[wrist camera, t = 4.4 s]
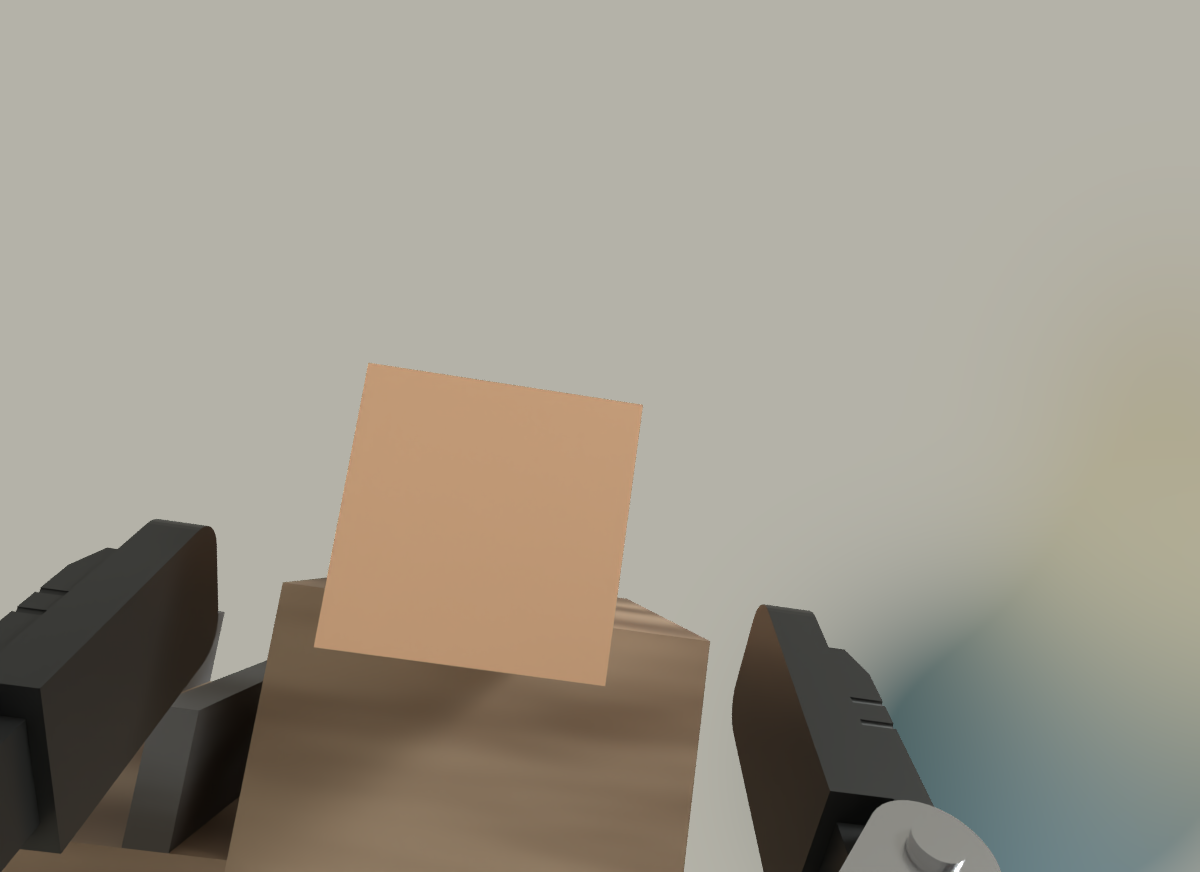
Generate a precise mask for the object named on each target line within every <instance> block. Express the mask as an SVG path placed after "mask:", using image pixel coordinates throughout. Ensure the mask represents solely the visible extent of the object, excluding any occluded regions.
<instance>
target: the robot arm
mask: <svg viewBox="0 0 1200 872" xmlns="http://www.w3.org/2000/svg"><path fill="white" fill-rule="evenodd" d="M217 626H218V583H217V544H216V536H215V533H214V530H213V529H212V528H211V527H209V526H204V525H196V524H189V523H182V522H175V521H168V520H161V519H155V520H152V521H150V522H149V523H147V524H146V525H145V526H144V527H143V528H141V529H140V530H139V531H138V532H137V533H136V534H135V535H133V536H132V537H131V538H130V539H129V540H128V541H126V542H125V543H124V544H123V545H122V546H121V547H120V548H118V549H112V548H105V549H103V550H101V551H99V552H96V553H94V554H92V555H90V556H87V557H85V558H83V559H81V560H79V561H76V562H74V563H71V564H69V565H68V566H66V567H65V568H64V569H63V570H62V571H60V572H59V573H58V574H57V575H55V576H54V577H53V578H52V579H51V580H50V581H48V582H47V583H46V584H44V585H43V586H42V587H41V589H40V592H39V593H38V592H34V593H33V594H32V595H31V596H30V597H28V598H27V599H26V600H25V601H23V602H22V603H21V604H20V605H19V606H18V608H17V611H16V612H13V611H11V612H10V613H9V614H8V615H6V616H5V617H4V618H3V619H1V621H0V872H2V870H3V869H4V868H5V867H6V865H7V864H8V863H9V862H10V861H11V859H12V858H13V857H14V856H15V854H16V853H17V852H18V851H19V849H23V850H32V851H41V852H49V853H58V854H61V853H62V852H63V851H64V849H65V848H66V847H67V845H68V844H69V843H70V841H71V840H72V839H73V837H74V836H75V834H76V833H77V832H78V830H79V829H80V828H81V826H82V825H83V824H84V822H85V821H86V820H87V818H88V817H89V816H90V814H91V813H92V812H93V810H94V809H95V808H96V806H97V805H98V804H99V802H100V801H101V800H102V798H103V797H104V796H105V794H106V793H107V792H108V790H109V789H110V788H111V786H112V785H113V784H114V782H115V781H116V780H117V778H118V777H119V776H120V774H121V773H122V772H123V770H124V769H125V767H126V766H127V765H128V763H129V762H130V761H131V759H132V758H133V757H134V755H135V754H136V753H137V751H138V750H139V749H140V747H141V746H142V745H143V743H144V742H145V741H146V739H147V738H148V737H149V735H150V734H151V733H152V731H153V730H154V729H155V727H156V726H157V725H158V723H159V722H160V721H161V719H162V718H163V717H164V715H165V714H166V713H167V711H168V710H169V709H170V707H171V706H172V705H173V703H174V702H175V700H176V699H177V698H178V696H179V695H180V694H181V692H182V691H183V690H184V688H185V687H186V686H187V684H188V683H189V682H190V680H191V679H192V678H193V676H194V675H195V674H196V672H197V671H198V670H199V668H200V667H201V666H202V664H203V663H204V661H205V660H206V658H207V656H208V655H209V652H210V650H211V648H212V645H213V642H214V639H215V635H216V631H217ZM732 725H733V733H734V737H735V742H736V746H737V751H738V756H739V760H740V765H741V770H742V774H743V779H744V783H745V788H746V793H747V797H748V802H749V806H750V811H751V816H752V820H753V825H754V830H755V834H756V839H757V843H758V848H759V853H760V857H761V862H762V866H763V871H764V872H1001V871H1000V868H999V865H998V863H997V861H996V859H995V857H994V856H993V854H992V853H991V851H990V850H989V848H988V847H987V846H986V844H985V843H984V842H983V841H982V840H981V839H980V838H979V837H978V836H977V835H976V834H975V833H974V832H973V831H972V830H971V829H970V828H968V827H967V826H966V825H965V824H963V823H962V822H961V821H959V820H958V819H956V818H955V817H953V816H951V815H950V814H948V813H946V812H944V811H942V810H940V809H938V808H935V807H934V806H933V804H932V802H931V800H930V798H929V795H928V794H927V791H926V789H925V787H924V785H923V783H922V781H921V780H920V777H919V775H918V773H917V771H916V769H915V767H914V765H913V763H912V761H911V759H910V757H909V755H908V753H907V750H906V748H905V746H904V744H903V743H902V740H901V738H900V736H899V734H898V732H897V730H896V729H893V722H892V720H891V718H890V716H889V714H888V712H887V710H886V708H885V707H884V706H882V699H881V698H880V695H879V693H878V691H877V689H876V687H875V685H874V683H873V681H872V679H871V677H870V675H869V674H868V673H867V672H866V671H865V670H864V669H863V668H862V667H861V666H860V665H859V664H858V663H857V662H856V661H855V660H854V659H853V658H852V657H851V656H850V655H849V654H848V653H847V652H846V651H845V650H842V649H835V648H829V647H828V645H827V643H826V640H825V638H824V636H823V633H822V631H821V629H820V627H819V624H818V622H817V620H816V617H815V615H814V614H813V613H812V612H810V611H806V610H799V609H792V608H785V607H778V606H771V605H761V606H760V607H759V608H758V609H757V611H756V614H755V617H754V620H753V623H752V627H751V631H750V634H749V638H748V642H747V645H746V649H745V653H744V656H743V660H742V664H741V667H740V671H739V675H738V679H737V682H736V686H735V690H734V696H733V705H732Z"/></svg>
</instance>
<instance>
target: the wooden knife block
mask: <svg viewBox="0 0 1200 872" xmlns="http://www.w3.org/2000/svg"><path fill="white" fill-rule="evenodd" d="M326 581H327V578H321V579H310V580H301V581H292V582H284V583H283V585H282V590H281V595H280V599H279V605H278V610H277V614H276V619H275V624H274V629H273V634H272V639H271V644H270V649H269V654H268V659H267V661H264V662H262V663H259V664H257V665H254V666H251V667H249V668H246V669H244V670H241V671H239V672H236V673H233V674H231V675H228V676H226V677H223V678H221V679H218V680H215V681H213V682H210V678H211V673H212V669H213V664H214V659H215V654H216V649H217V645H218V640H219V635H220V631H221V626H222V621H223V617H224V612H221V611H218V626H217V631H216V635H215V639H214V642H213V645H212V648H211V650H210V652H209V655H208V656H207V658H206V660H205V661H204V663H203V664H202V666H201V667H200V668H199V670H198V671H197V672H196V674H195V675H194V676H193V678H192V679H191V680H190V682H189V683H188V684H187V686H186V687H185V688H184V690H183V691H182V692H181V694H180V695H179V696H178V698H177V699H176V700H175V702H174V703H173V705H172V706H171V707H170V709H169V710H168V711H167V713H166V714H165V715H164V717H163V718H162V719H161V721H160V722H159V723H158V725H157V726H156V727H155V729H154V730H153V731H152V733H151V734H150V735H149V737H148V738H147V739H146V741H145V742H144V743H143V745H142V746H141V747H140V749H139V750H138V751H137V753H136V754H135V755H134V757H133V758H132V759H131V761H130V762H129V763H128V765H127V766H126V767H125V769H124V770H123V772H122V773H121V774H120V776H119V777H118V778H117V780H116V781H115V782H114V784H113V785H112V786H111V788H110V789H109V790H108V792H107V793H106V794H105V796H104V797H103V798H102V800H101V801H100V802H99V804H98V805H97V806H96V808H95V809H94V810H93V812H92V813H91V814H90V816H89V817H88V818H87V820H86V821H85V822H84V824H83V825H82V826H81V828H80V829H79V830H78V832H77V833H76V834H75V836H74V837H73V839H72V840H71V841H70V843H69V844H68V845H67V847H66V848H65V849H64V851H63V852H62V853H61V854H58V853H49V852H41V851H32V850H23V849H19V851H18V852H17V853H16V854H15V856H14V857H13V858H12V859H11V861H10V862H9V863H8V864H7V865H6V867H5V868H4V869H3V870H2V872H684V864H685V855H686V846H687V837H688V829H689V820H690V811H691V802H692V794H693V785H694V776H695V767H696V759H697V750H698V741H699V733H700V724H701V715H702V706H703V697H704V689H705V679H706V671H707V663H708V653H709V645H710V641H708V640H706V639H704V638H702V637H700V636H698V635H696V634H695V633H693V632H691V631H689V630H687V629H685V628H683V627H681V626H679V625H677V624H675V623H673V622H671V621H669V620H667V619H665V618H663V617H661V616H659V615H657V614H655V613H653V612H652V611H649V610H648V609H646V608H644V607H641V606H640V605H638V604H636V603H634V602H632V601H630V600H628V599H624V598H617V602H616V610H615V617H614V625H613V632H612V639H611V647H610V654H609V662H608V669H607V677H606V684H605V686H600V685H592V684H585V683H577V682H570V681H562V680H555V679H547V678H540V677H532V676H525V675H517V674H510V673H502V672H495V671H488V670H480V669H473V668H465V667H458V666H450V665H443V664H435V663H428V662H420V661H413V660H405V659H398V658H390V657H383V656H375V655H368V654H360V653H353V652H345V651H338V650H331V649H323V648H316V647H314V643H315V638H316V632H317V627H318V622H319V617H320V612H321V606H322V601H323V596H324V591H325V586H326Z"/></svg>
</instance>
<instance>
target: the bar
mask: <svg viewBox="0 0 1200 872" xmlns="http://www.w3.org/2000/svg"><path fill="white" fill-rule="evenodd" d="M642 408H643V405H640V404H634V403H627V402H621V401H614V400H608V399H601V398H594V397H588V396H581V395H575V394H568V393H562V392H555V391H549V390H542V389H536V388H529V387H523V386H516V385H510V384H503V383H497V382H490V381H483V380H477V379H471V378H463V377H458V376H451V375H445V374H438V373H431V372H424V371H418V370H412V369H405V368H399V367H392V366H386V365H379V364H372V363H368V368H367V373H366V378H365V384H364V389H363V394H362V399H361V405H360V410H359V415H358V420H357V425H356V431H355V435H354V441H353V446H352V451H351V456H350V461H349V466H348V472H347V477H346V482H345V487H344V493H343V498H342V503H341V508H340V514H339V518H338V524H337V529H336V534H335V539H334V544H333V549H332V555H331V560H330V565H329V570H328V576H327V581H326V586H325V591H324V596H323V601H322V606H321V612H320V617H319V622H318V627H317V632H316V638H315V643H314V647H316V648H323V649H331V650H338V651H345V652H353V653H360V654H368V655H375V656H383V657H390V658H398V659H405V660H413V661H420V662H428V663H435V664H443V665H450V666H458V667H465V668H473V669H480V670H488V671H495V672H502V673H510V674H517V675H525V676H532V677H540V678H547V679H555V680H562V681H570V682H577V683H585V684H592V685H600V686H605V684H606V677H607V669H608V662H609V654H610V647H611V639H612V632H613V625H614V617H615V610H616V602H617V595H618V587H619V580H620V572H621V565H622V557H623V549H624V542H625V535H626V528H627V520H628V512H629V505H630V498H631V490H632V483H633V475H634V468H635V460H636V453H637V446H638V437H639V430H640V423H641V415H642Z"/></svg>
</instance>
